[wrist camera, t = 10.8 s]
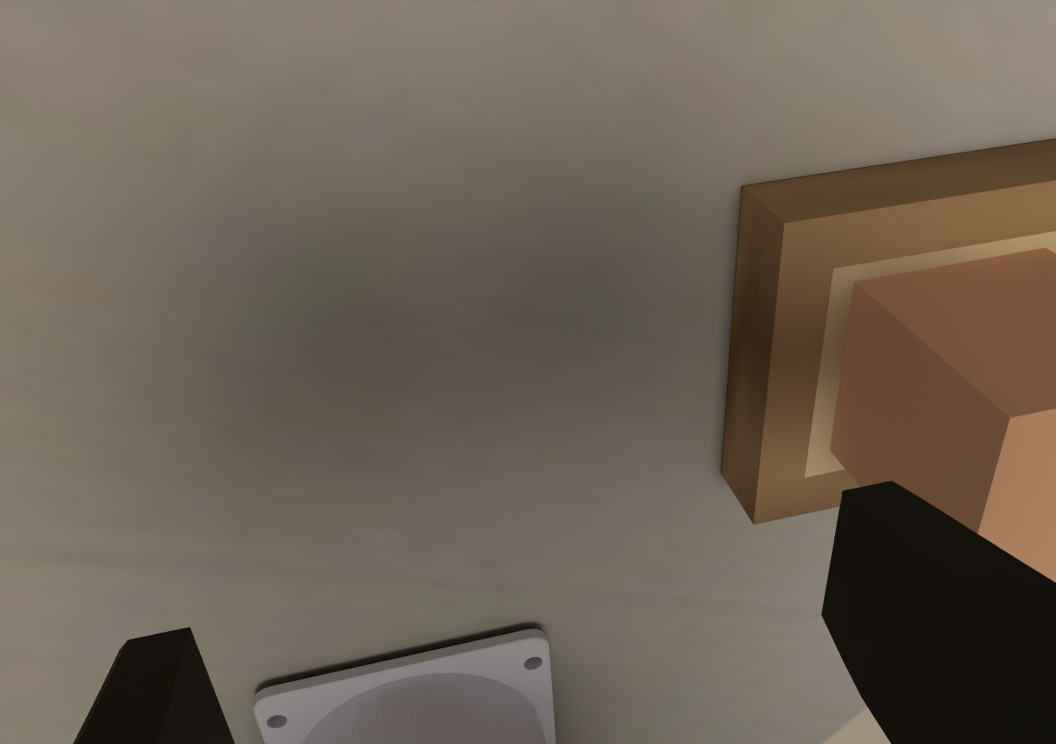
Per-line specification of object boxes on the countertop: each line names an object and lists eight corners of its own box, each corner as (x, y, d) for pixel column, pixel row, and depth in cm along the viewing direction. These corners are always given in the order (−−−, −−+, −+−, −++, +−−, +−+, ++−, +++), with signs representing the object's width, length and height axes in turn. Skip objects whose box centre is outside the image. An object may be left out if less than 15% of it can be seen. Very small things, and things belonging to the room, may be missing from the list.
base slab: (994, 418, 26) (1044, 463, 24) (721, 473, 24) (754, 524, 23) (1072, 136, 21) (1139, 167, 19) (742, 186, 20) (784, 223, 18)
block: (1000, 414, 23) (1161, 557, 18) (829, 450, 22) (957, 606, 18) (1046, 247, 20) (1243, 369, 16) (854, 281, 19) (1010, 418, 15)
